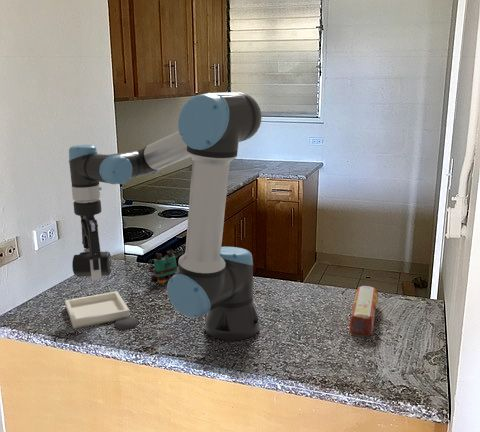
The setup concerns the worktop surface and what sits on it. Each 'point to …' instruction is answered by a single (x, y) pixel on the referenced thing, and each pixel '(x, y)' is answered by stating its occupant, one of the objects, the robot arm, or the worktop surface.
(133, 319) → the lens cap
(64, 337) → the worktop surface
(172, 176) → the worktop surface
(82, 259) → the end cap
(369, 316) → the snack package
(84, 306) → the mount tray
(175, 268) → the binoculars
